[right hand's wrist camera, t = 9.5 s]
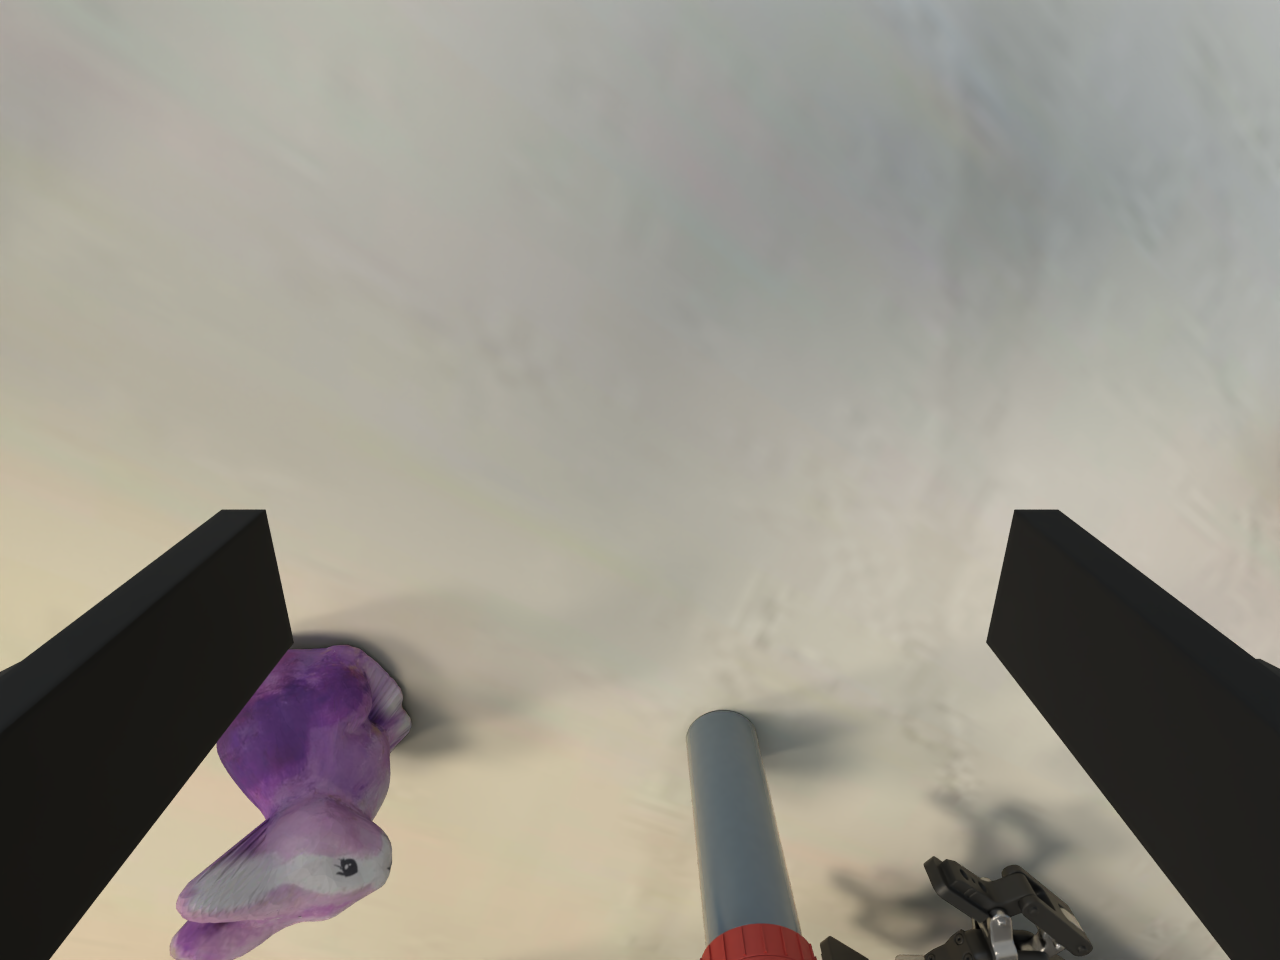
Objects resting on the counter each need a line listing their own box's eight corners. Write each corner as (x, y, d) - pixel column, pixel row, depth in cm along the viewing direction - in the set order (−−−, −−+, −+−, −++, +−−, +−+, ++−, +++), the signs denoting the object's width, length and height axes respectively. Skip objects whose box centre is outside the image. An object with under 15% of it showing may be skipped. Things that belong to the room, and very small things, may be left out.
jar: (767, 721, 45) (831, 971, 30) (740, 773, 46) (788, 1034, 32) (701, 702, 44) (734, 948, 30) (675, 755, 46) (695, 1013, 31)
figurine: (442, 754, 45) (357, 1006, 31) (281, 762, 45) (125, 1016, 31) (417, 627, 42) (309, 846, 28) (242, 635, 42) (47, 858, 28)
